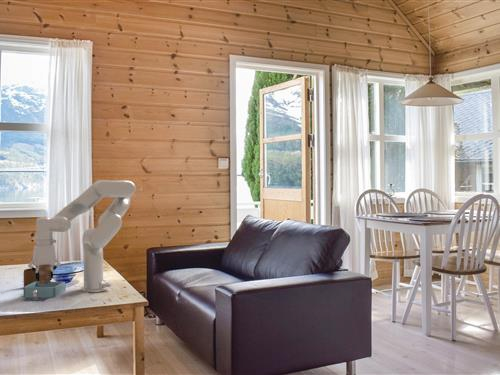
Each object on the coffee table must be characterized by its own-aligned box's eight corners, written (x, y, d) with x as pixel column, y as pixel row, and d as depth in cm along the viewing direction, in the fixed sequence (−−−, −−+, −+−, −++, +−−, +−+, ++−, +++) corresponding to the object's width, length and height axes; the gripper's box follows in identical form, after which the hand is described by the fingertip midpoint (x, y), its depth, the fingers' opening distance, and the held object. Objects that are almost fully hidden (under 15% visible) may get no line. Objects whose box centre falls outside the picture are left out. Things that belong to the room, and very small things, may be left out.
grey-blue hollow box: (50, 299, 238) (50, 288, 238) (43, 303, 231) (43, 292, 231) (26, 299, 238) (26, 288, 238) (19, 303, 231) (19, 291, 231)
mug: (46, 284, 271) (46, 266, 270) (49, 287, 264) (49, 269, 264) (22, 287, 264) (22, 269, 264) (24, 289, 258) (24, 271, 257)
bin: (65, 292, 252) (65, 281, 252) (55, 299, 239) (55, 287, 239) (35, 292, 252) (35, 281, 252) (23, 298, 239) (23, 287, 239)
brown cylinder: (48, 281, 248) (49, 263, 248) (50, 283, 244) (50, 264, 244) (37, 282, 246) (38, 263, 246) (39, 284, 242) (39, 265, 241)
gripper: (61, 240, 252) (61, 277, 252) (24, 242, 244) (24, 280, 244) (64, 242, 246) (64, 280, 246) (26, 244, 237) (25, 283, 238)
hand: (44, 279), depth 245 cm, fingers closed on brown cylinder, 5 cm apart
